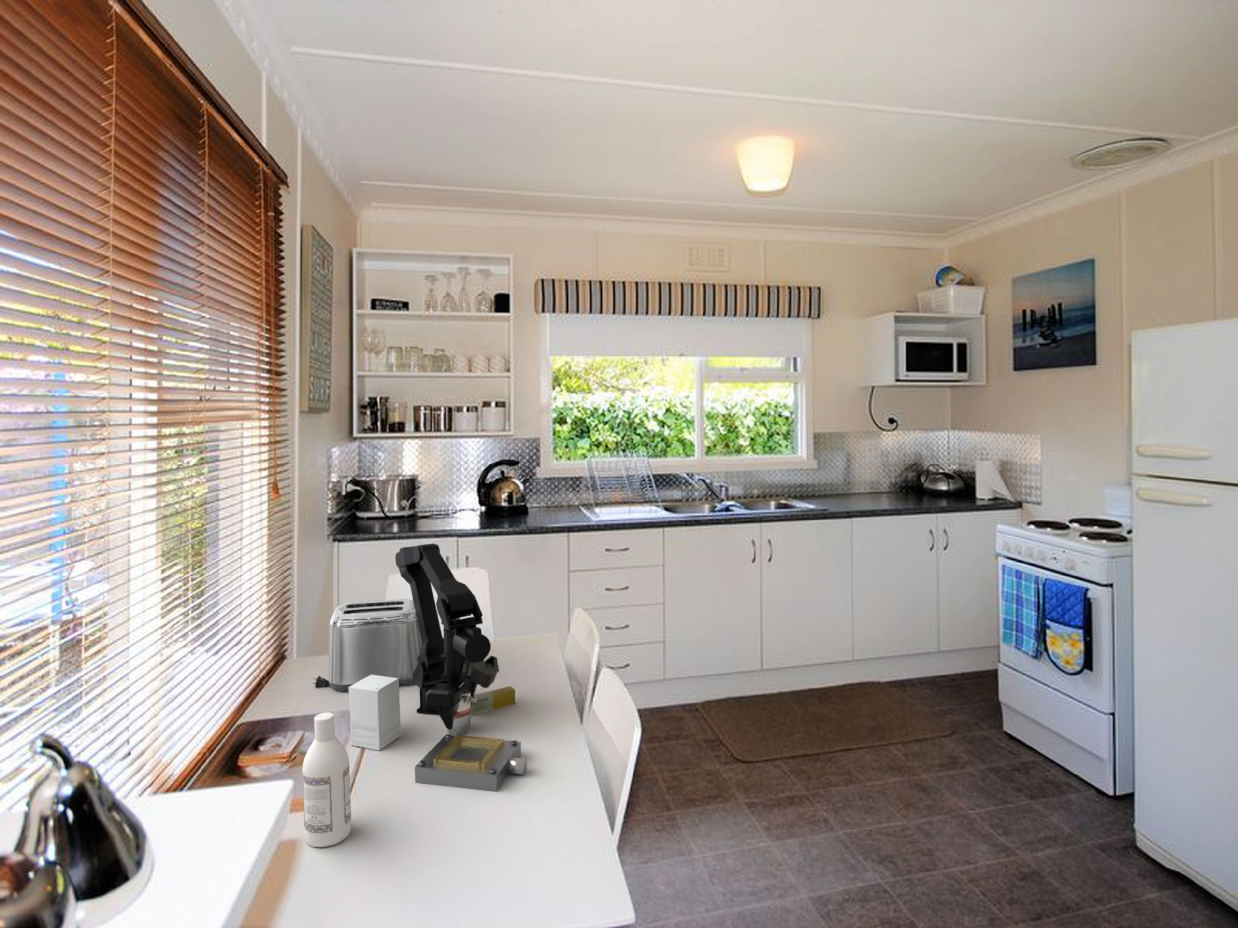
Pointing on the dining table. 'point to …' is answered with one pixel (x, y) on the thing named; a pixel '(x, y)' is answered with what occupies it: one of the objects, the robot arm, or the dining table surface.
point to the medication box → (493, 700)
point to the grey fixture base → (471, 762)
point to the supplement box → (374, 712)
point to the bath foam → (326, 786)
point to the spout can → (463, 714)
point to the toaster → (372, 642)
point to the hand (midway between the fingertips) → (459, 719)
